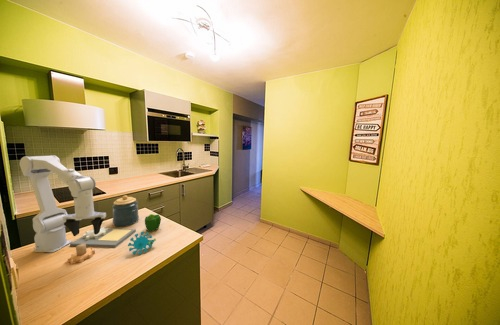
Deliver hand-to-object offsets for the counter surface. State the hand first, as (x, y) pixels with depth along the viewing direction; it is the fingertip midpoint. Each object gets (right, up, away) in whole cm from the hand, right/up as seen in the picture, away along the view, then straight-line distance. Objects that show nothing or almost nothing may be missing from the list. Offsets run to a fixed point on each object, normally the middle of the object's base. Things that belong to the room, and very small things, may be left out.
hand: (86, 234), depth 71 cm
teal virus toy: (+21, -11, +6) cm, 24 cm away
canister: (-6, -6, +31) cm, 32 cm away
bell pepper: (+15, -8, +24) cm, 29 cm away
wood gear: (-2, -10, 0) cm, 10 cm away
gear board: (-4, -8, +14) cm, 17 cm away
